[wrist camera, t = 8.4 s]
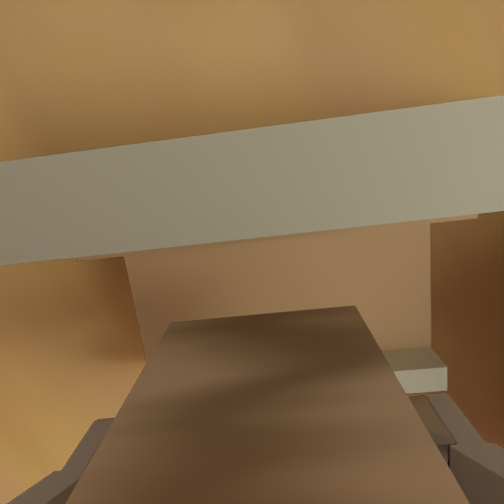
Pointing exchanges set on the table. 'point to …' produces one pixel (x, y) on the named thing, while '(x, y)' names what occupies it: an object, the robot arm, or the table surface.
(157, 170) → the grey boxy piece
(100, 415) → the table surface
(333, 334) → the cabinet block
